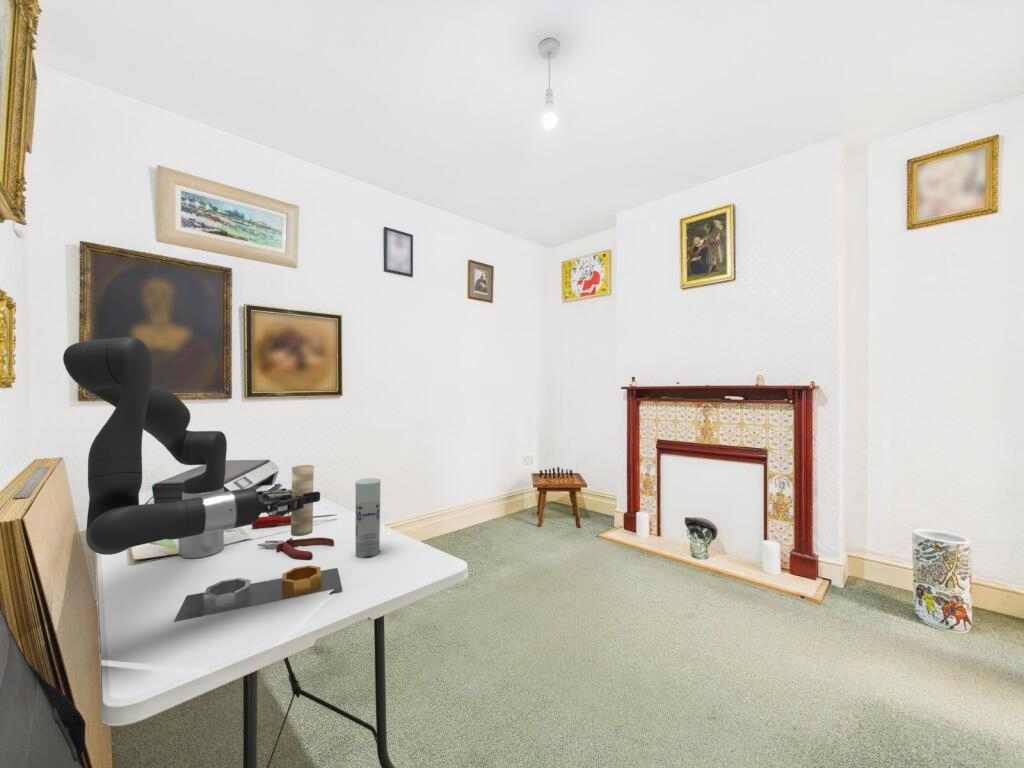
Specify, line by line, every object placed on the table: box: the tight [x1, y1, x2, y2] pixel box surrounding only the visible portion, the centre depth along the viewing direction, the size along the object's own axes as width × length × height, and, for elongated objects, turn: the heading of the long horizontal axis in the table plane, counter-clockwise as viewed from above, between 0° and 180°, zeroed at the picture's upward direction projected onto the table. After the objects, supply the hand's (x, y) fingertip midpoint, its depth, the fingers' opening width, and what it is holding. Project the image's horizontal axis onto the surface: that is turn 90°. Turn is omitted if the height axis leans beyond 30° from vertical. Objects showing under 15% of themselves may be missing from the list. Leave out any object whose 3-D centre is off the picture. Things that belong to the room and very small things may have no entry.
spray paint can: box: [355, 477, 381, 559], centre depth 114 cm, size 6×6×20 cm
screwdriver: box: [251, 514, 338, 529], centre depth 138 cm, size 4×25×4 cm, turn 110°
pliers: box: [256, 537, 335, 561], centre depth 117 cm, size 12×20×3 cm, turn 78°
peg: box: [290, 464, 314, 537], centre depth 94 cm, size 4×4×15 cm
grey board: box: [173, 565, 343, 623], centre depth 91 cm, size 30×11×4 cm, turn 118°
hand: (314, 494), depth 96 cm, fingers closed on peg, 4 cm apart
